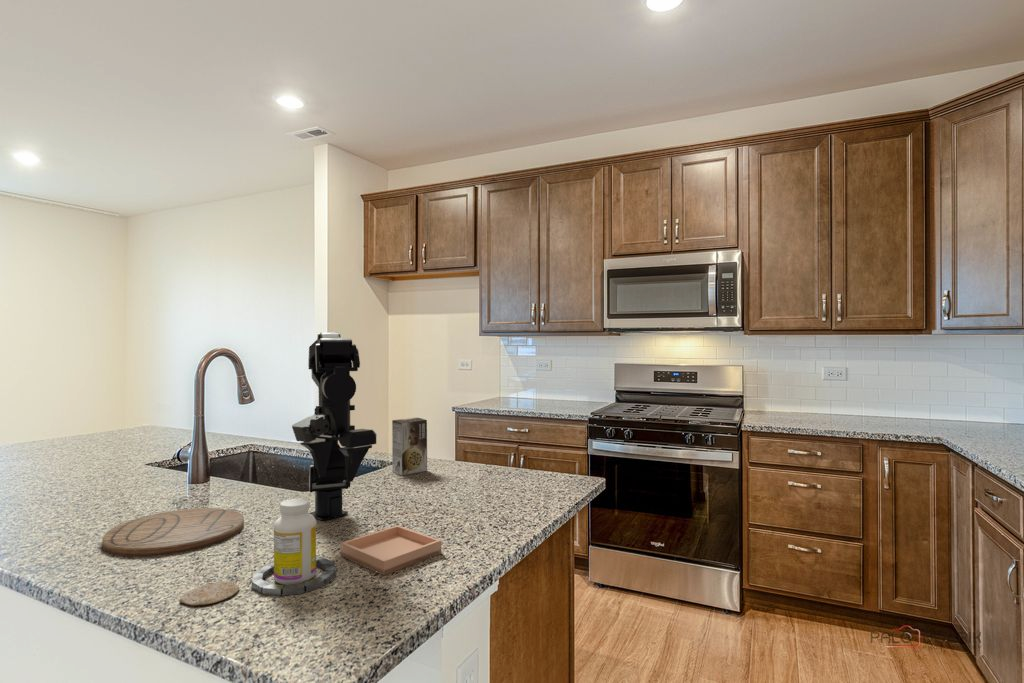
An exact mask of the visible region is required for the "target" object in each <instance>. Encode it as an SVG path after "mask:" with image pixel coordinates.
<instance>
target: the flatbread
mask: <svg viewBox="0 0 1024 683" xmlns="http://www.w3.org/2000/svg"><path fill="white" fill-rule="evenodd" d="M239 590H240V587H239V585H237V584H235V583H234V582H231V581H226V582H225V581H224V582H223V581H222V582H221V581H220V582H217V581H216V582H208V583H205V584H202V585H201V586H197V587H195V588H193V589H190V590H189V591H186V592H185V593H184V594H183V595H182V596H181V598H179V603H181V604H184V605H188V606H192V607H193V606H206V605H210V604H215V603H219V602H221V601H225V600H226V599H229V598H231V597H233V596H235V595H236V594H237V593H238V592H239Z"/></svg>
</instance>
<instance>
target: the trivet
mask: <svg viewBox="0 0 1024 683" xmlns="http://www.w3.org/2000/svg"><path fill="white" fill-rule="evenodd" d="M244 527H245V518H244V514H242V513H241V512H240V511H236V510H233V509H229V508H220V507H213V508H212V507H199V508H187V509H185V508H184V509H177V510H172V511H171V510H170V511H164V512H160V513H159V512H158V513H153V514H150V515H146V516H145V515H144V516H142V517H138V518H134V519H132V520H129V521H126V522H122V523H121V524H119V525H116V526H114V527H112V528H110V529H109V530H108V531H107V532H105V533H104V535H103V536H102V538H101V541H102V543H101V545H102V548H103V551H104V552H106V553H108V554H111V555H114V556H122V557H133V558H134V557H137V558H138V557H139V558H143V557H144V558H145V557H156V556H159V557H160V556H167V555H172V554H173V555H175V554H179V553H186V552H189V551H193V550H198V549H202V548H203V549H204V548H206V547H208V546H212V545H216V544H219V543H222V542H223V541H225V540H228V539H231V538H233V537H234V536H236V535H237V534H239V533H240V532H241V531H242V529H243V528H244Z"/></svg>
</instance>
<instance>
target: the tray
mask: <svg viewBox="0 0 1024 683" xmlns="http://www.w3.org/2000/svg"><path fill="white" fill-rule="evenodd" d="M440 554H442V540H441V539H439V538H435V537H432V536H431V535H430V536H429V535H427V534H424V533H422V532H418V531H415V530H413V529H409V528H407V527H405V526H401V525H394V526H392V527H388V528H384V529H382V530H379V531H375V532H372V533H368V534H366V535H362V536H359V537H356V538H353V539H349V540H346V541H343V542H340V556H341V557H342V556H343V558H344V557H346V558H345V559H347V558H348V559H347V560H349V559H350V560H349V561H351V560H352V561H351V562H353V561H354V563H355V562H357V563H356V564H358V563H359V564H358V565H360V564H361V565H360V566H362V565H363V567H364V566H365V567H364V568H367V567H368V568H367V569H369V568H370V569H369V570H371V569H372V570H371V571H373V570H374V571H373V572H375V571H377V572H376V573H378V572H379V573H378V574H379V575H382V574H383V576H386V575H389V574H391V573H394V572H397V571H399V570H401V569H404V568H406V567H410V566H412V565H414V564H417V563H420V562H422V561H425V560H427V559H430V558H433V557H435V556H437V555H440Z"/></svg>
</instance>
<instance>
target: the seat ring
mask: <svg viewBox="0 0 1024 683" xmlns="http://www.w3.org/2000/svg"><path fill="white" fill-rule="evenodd" d="M317 567H318V568H320V569H322V570H323V571H324V572H323V573H321V575H319V576H318V577H315V578H311V579H310V580H308V581H306V582H303V583H298V584H291V585H283V584H275V583H270V582H267V581H266V580H264V579H265V578H267V577H268V576H269V575H271V574H274V562H271V563H268V564H266V565H264V566H263V567H261V568H260V569H258V570H256V571H255V572H254V573H253V575H252V579H251V589H253V590H254V591H256V592H257V593H259V594H260V595H261V594H262V595H267V596H268V595H269V596H278V597H285V596H291V595H297V594H298V595H300V594H305V593H308V591H309V592H311V591H314V590H316V588H317V589H319V588H322V587H324V586H325V585H324V584H326V585H328V584H329V583H330V582H331V581H332V580H333V579H334V577H335V578H336V577H337V573H336V572H337V570H336V563H335V562H334V561H333V560H330V559H327V558H325V557H319V556H316V568H317ZM331 579H332V580H331ZM330 580H331V581H330ZM329 581H330V582H329ZM328 582H329V583H328ZM323 585H324V586H323ZM321 586H322V587H321Z"/></svg>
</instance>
